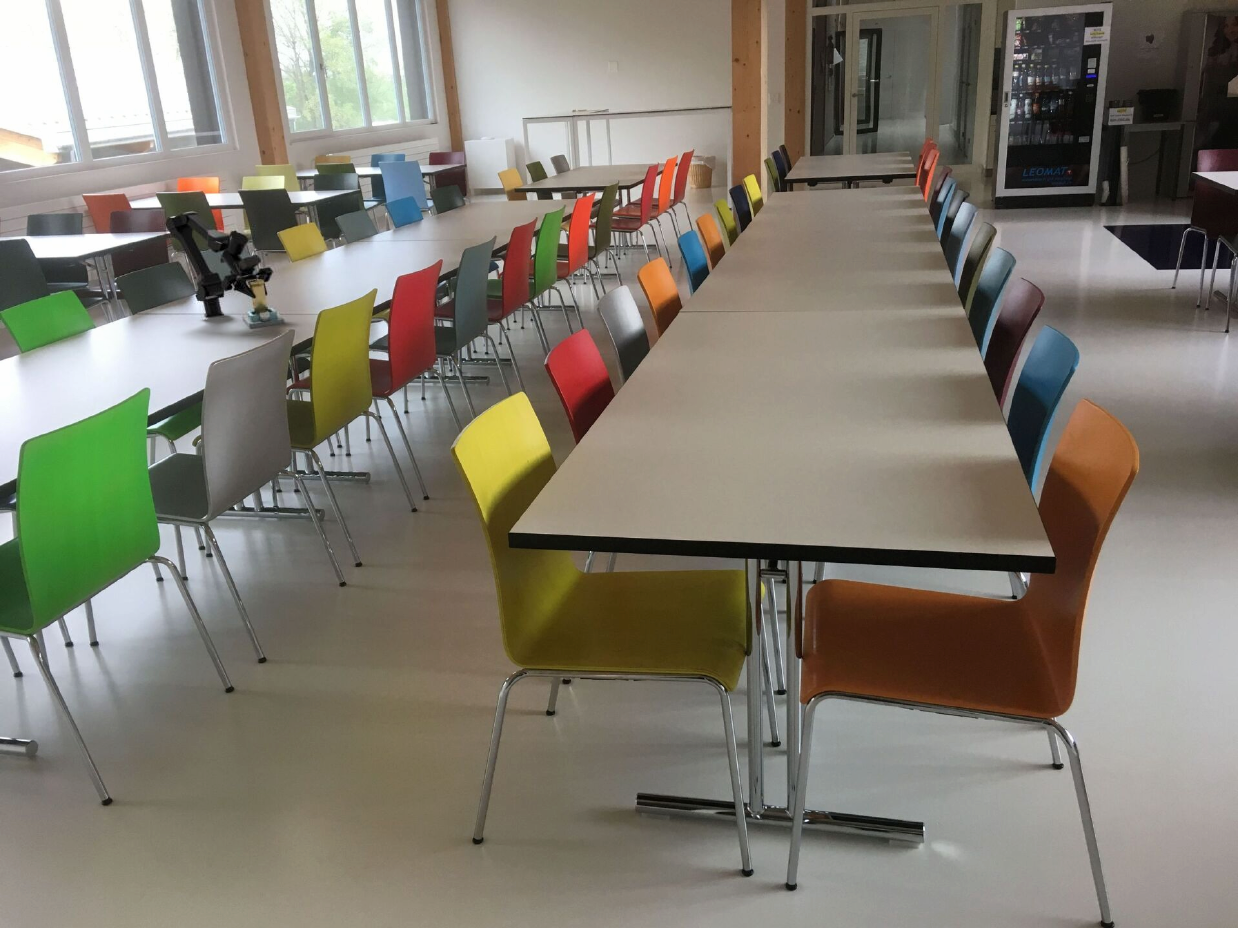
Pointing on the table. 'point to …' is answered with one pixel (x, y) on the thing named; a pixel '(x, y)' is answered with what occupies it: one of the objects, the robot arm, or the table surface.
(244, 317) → the manifold board
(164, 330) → the table surface
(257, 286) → the brass fitting
